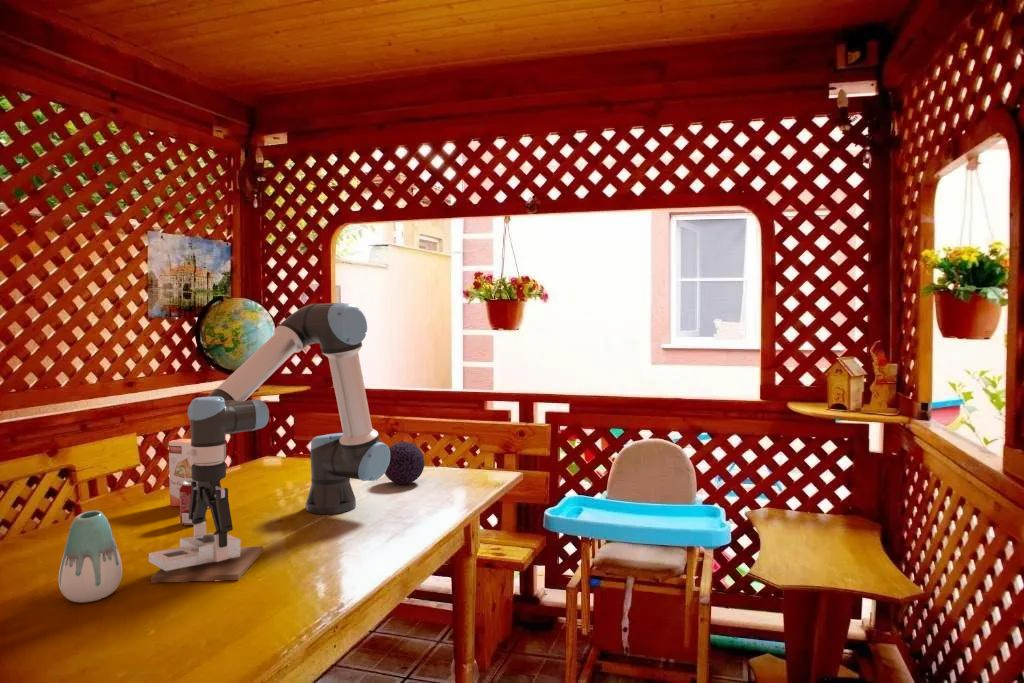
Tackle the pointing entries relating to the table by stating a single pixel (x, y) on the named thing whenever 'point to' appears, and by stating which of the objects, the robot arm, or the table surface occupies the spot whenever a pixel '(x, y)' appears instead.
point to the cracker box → (179, 467)
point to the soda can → (185, 502)
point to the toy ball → (405, 463)
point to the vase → (90, 559)
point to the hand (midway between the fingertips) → (210, 555)
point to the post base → (212, 567)
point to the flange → (192, 553)
